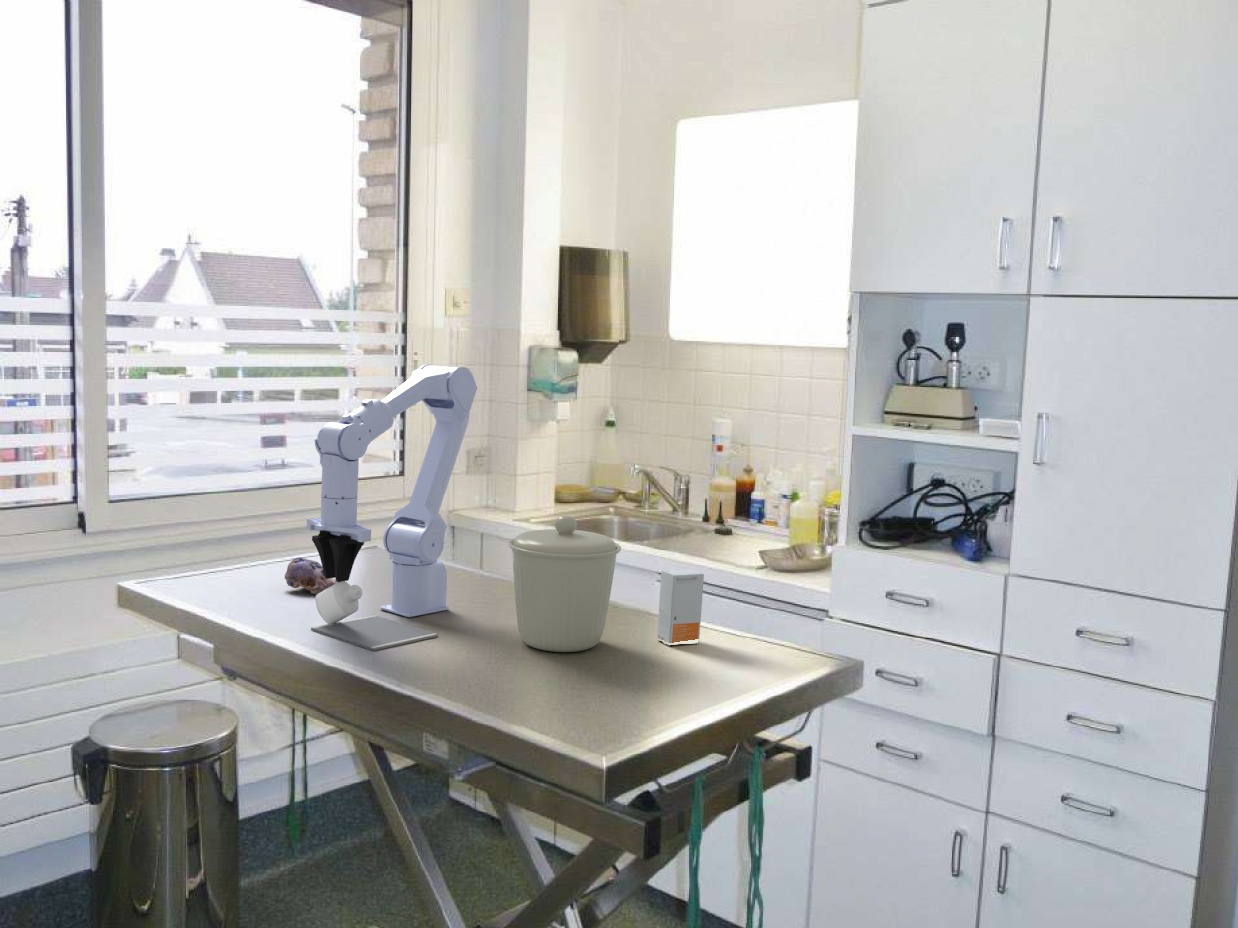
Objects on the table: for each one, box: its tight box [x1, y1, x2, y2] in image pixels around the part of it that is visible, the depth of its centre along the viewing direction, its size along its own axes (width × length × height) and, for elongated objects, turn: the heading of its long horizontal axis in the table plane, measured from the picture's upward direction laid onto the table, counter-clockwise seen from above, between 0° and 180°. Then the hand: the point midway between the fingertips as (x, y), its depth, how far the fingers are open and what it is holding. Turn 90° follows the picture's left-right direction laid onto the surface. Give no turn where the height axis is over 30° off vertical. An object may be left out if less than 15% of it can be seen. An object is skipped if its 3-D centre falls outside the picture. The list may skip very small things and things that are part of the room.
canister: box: [507, 515, 622, 653], centre depth 178 cm, size 18×18×21 cm
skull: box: [284, 557, 338, 595], centre depth 206 cm, size 12×8×6 cm, turn 54°
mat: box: [310, 614, 438, 652], centre depth 180 cm, size 13×16×1 cm
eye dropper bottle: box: [315, 581, 363, 624], centre depth 180 cm, size 4×6×12 cm
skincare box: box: [656, 568, 705, 643], centre depth 184 cm, size 6×4×12 cm
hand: (336, 579), depth 181 cm, fingers open, 2 cm apart
